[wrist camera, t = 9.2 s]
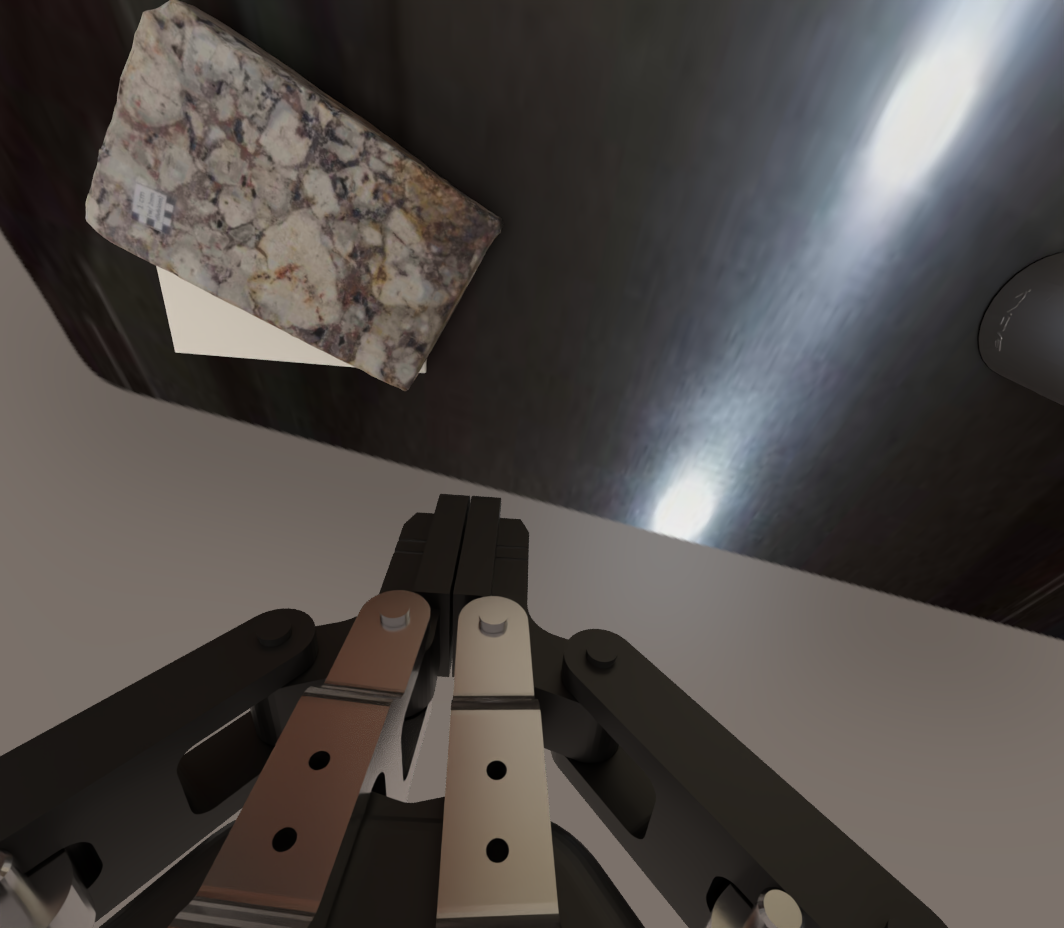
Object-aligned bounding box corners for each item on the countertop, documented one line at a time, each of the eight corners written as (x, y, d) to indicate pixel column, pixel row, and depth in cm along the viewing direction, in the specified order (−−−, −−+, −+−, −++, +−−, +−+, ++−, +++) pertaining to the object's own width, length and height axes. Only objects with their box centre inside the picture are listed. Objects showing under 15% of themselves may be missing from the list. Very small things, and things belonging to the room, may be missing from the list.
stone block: (401, 406, 36) (62, 223, 30) (411, 377, 43) (132, 220, 37) (510, 217, 32) (146, -37, 26) (503, 215, 39) (208, 10, 33)
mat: (426, 211, 37) (425, 212, 37) (426, 370, 43) (425, 373, 42) (143, 183, 36) (138, 183, 36) (179, 350, 42) (175, 352, 41)
